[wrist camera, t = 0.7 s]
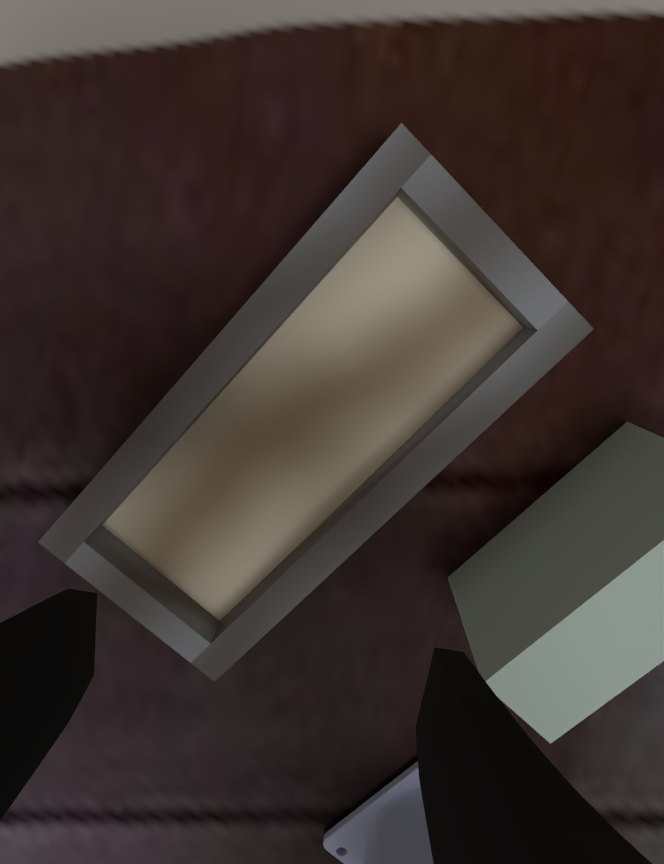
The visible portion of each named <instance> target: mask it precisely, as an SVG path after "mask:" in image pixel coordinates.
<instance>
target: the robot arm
mask: <svg viewBox="0 0 664 864" xmlns="http://www.w3.org/2000/svg"><path fill="white" fill-rule="evenodd" d="M96 607H97V593H92V592H85V591H79V590H73V589H67V590H65V591H63V592H61V593H58V594H56V595H54V596H52V597H50V598H48V599H46V600H44V601H42V602H40V603H38V604H36V605H34V606H33V607H31V608H29V609H27V610H25V611H23V612H21V613H19V614H17V615H15V616H13V617H11V618H9V619H7V620H5V621H4V622H2V623H0V820H1V819H2V817H3V816H4V814H5V813H6V812H7V810H8V809H9V807H10V806H11V804H12V803H13V802H14V800H15V799H16V797H17V796H18V794H19V793H20V792H21V790H22V789H23V787H24V786H25V784H26V783H27V782H28V780H29V779H30V777H31V776H32V774H33V773H34V772H35V770H36V769H37V767H38V766H39V764H40V763H41V762H42V760H43V759H44V757H45V756H46V754H47V753H48V751H49V750H50V749H51V747H52V746H53V744H54V743H55V741H56V740H57V738H58V737H59V735H60V734H61V733H62V731H63V730H64V728H65V727H66V725H67V724H68V722H69V720H70V718H71V717H72V715H73V713H74V711H75V709H76V708H77V706H78V704H79V702H80V700H81V698H82V697H83V695H84V693H85V691H86V689H87V687H88V685H89V683H90V681H91V679H92V677H93V675H94V656H95V632H96ZM416 738H417V756H418V761H417V762H416V763H415V764H413V765H412V766H411V767H409V768H408V769H407V770H406V771H404V772H403V773H402V774H400V775H399V776H398V777H397V778H395V779H394V780H393V781H391V782H390V783H389V784H388V785H386V786H385V787H384V788H382V789H381V790H380V791H379V792H377V793H376V794H375V795H373V796H372V797H371V798H370V799H368V800H367V801H366V802H364V803H363V804H362V805H361V806H359V807H358V808H357V809H355V810H354V811H353V812H352V813H350V814H349V815H348V816H346V817H345V818H344V819H343V820H341V821H340V822H339V823H337V824H336V825H335V826H334V827H332V828H331V829H330V830H328V831H327V832H326V833H325V834H324V838H323V846H324V848H325V849H326V850H327V851H328V852H329V853H331V854H332V855H333V856H335V857H336V858H337V859H338V860H340V861H341V862H342V863H344V864H652V863H651V862H650V861H648V860H647V859H646V858H645V857H644V856H643V855H642V854H641V853H639V852H638V851H637V850H636V849H635V848H634V847H633V846H632V845H631V844H630V843H629V842H628V841H627V840H625V839H624V838H623V837H622V836H621V835H620V834H619V833H618V832H617V831H616V830H615V829H614V828H613V827H612V826H611V825H610V824H609V823H608V822H607V821H606V820H605V819H604V818H603V817H602V816H601V815H600V814H599V813H598V812H597V811H596V810H595V809H594V808H593V807H592V806H591V805H590V804H589V803H588V802H587V801H586V800H585V799H584V798H583V797H582V796H581V795H580V794H579V793H578V792H577V791H576V790H575V789H574V788H573V787H572V786H571V784H570V783H569V782H568V781H567V780H566V779H565V778H564V777H563V776H562V775H561V773H560V772H559V771H558V770H557V769H556V768H555V767H554V765H553V764H552V763H551V762H550V761H549V760H548V759H547V758H546V756H545V755H544V754H543V753H542V752H541V751H540V750H539V748H538V747H537V746H536V745H535V744H534V742H533V741H532V740H531V739H530V738H529V736H528V735H527V734H526V733H525V732H524V730H523V729H522V728H521V727H520V725H519V724H518V723H517V722H516V720H515V719H514V718H513V717H512V715H511V714H510V713H509V712H508V710H507V709H506V708H505V706H504V705H503V704H502V702H501V701H500V700H499V699H498V697H497V696H496V695H495V693H494V692H493V691H492V689H491V688H490V687H489V685H488V684H487V683H486V681H485V680H484V679H483V677H482V676H481V675H480V673H479V672H478V671H477V669H476V668H475V667H474V665H473V664H472V663H471V661H470V660H469V659H468V657H467V656H466V655H465V653H464V652H459V651H453V650H447V649H441V648H435V649H434V653H433V657H432V661H431V665H430V670H429V674H428V678H427V682H426V687H425V691H424V695H423V699H422V703H421V708H420V712H419V716H418V720H417V724H416Z"/></svg>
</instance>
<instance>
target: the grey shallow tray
mask: <svg viewBox="0 0 664 864" xmlns="http://www.w3.org/2000/svg"><path fill="white" fill-rule="evenodd" d="M592 330H593V328H592V327H591V326H590V325H589V323H588V322H587V321H586V320H585V319H584V318H583V317H582V316H581V315H580V314H579V313H578V312H577V311H576V309H575V308H574V307H573V306H572V305H571V304H570V303H569V302H568V301H567V300H566V299H565V298H564V297H563V296H562V294H561V293H560V292H559V291H558V290H557V289H556V288H555V287H554V286H553V285H552V284H551V283H550V282H549V281H548V279H547V278H546V277H545V276H544V275H543V274H542V273H541V272H540V271H539V270H538V269H537V268H536V267H535V266H534V264H533V263H532V262H531V261H530V260H529V259H528V258H527V257H526V256H525V255H524V254H523V253H522V252H521V250H520V249H519V248H518V247H517V246H516V245H515V244H514V243H513V242H512V241H511V240H510V239H509V238H508V237H507V235H506V234H505V233H504V232H503V231H502V230H501V229H500V228H499V227H498V226H497V225H496V224H495V223H494V222H493V220H492V219H491V218H490V217H489V216H488V215H487V214H486V213H485V212H484V211H483V210H482V209H481V208H480V207H479V205H478V204H477V203H476V202H475V201H474V200H473V199H472V198H471V197H470V196H469V195H468V194H467V193H466V191H465V190H464V189H463V188H462V187H461V186H460V185H459V184H458V183H457V182H456V181H455V180H454V179H453V178H452V176H451V175H450V174H449V173H448V172H447V171H446V170H445V169H444V168H443V167H442V166H441V165H440V164H439V163H438V161H437V160H436V159H435V158H434V157H433V156H432V155H431V154H430V153H429V152H428V151H427V150H426V149H425V147H424V146H423V145H422V144H421V143H420V142H419V141H418V140H417V139H416V138H415V137H414V136H413V135H412V134H411V132H410V131H409V130H408V129H407V128H406V127H405V126H404V125H403V124H402V123H401V124H400V125H399V127H398V128H397V129H396V130H395V131H394V132H393V133H392V135H391V136H390V137H389V138H388V139H387V140H386V142H385V143H384V144H383V145H382V146H381V147H380V148H379V150H378V151H377V152H376V153H375V154H374V155H373V157H372V158H371V159H370V160H369V161H368V162H367V163H366V165H365V166H364V167H363V168H362V169H361V170H360V171H359V173H358V174H357V175H356V176H355V177H354V178H353V180H352V181H351V182H350V183H349V184H348V185H347V186H346V188H345V189H344V190H343V191H342V192H341V193H340V195H339V196H338V197H337V198H336V199H335V200H334V201H333V203H332V204H331V205H330V206H329V207H328V208H327V210H326V211H325V212H324V213H323V214H322V215H321V216H320V218H319V219H318V220H317V221H316V222H315V223H314V225H313V226H312V227H311V228H310V229H309V230H308V231H307V233H306V234H305V235H304V236H303V237H302V238H301V240H300V241H299V242H298V243H297V244H296V245H295V246H294V248H293V249H292V250H291V251H290V252H289V253H288V255H287V256H286V257H285V258H284V259H283V260H282V261H281V263H280V264H279V265H278V266H277V267H276V268H275V270H274V271H273V272H272V273H271V274H270V275H269V276H268V278H267V279H266V280H265V281H264V282H263V283H262V285H261V286H260V287H259V288H258V289H257V290H256V291H255V293H254V294H253V295H252V296H251V297H250V298H249V299H248V301H247V302H246V303H245V304H244V305H243V306H242V308H241V309H240V310H239V311H238V312H237V313H236V314H235V316H234V317H233V318H232V319H231V320H230V321H229V323H228V324H227V325H226V326H225V327H224V328H223V329H222V331H221V332H220V333H219V334H218V335H217V336H216V338H215V339H214V340H213V341H212V342H211V343H210V344H209V346H208V347H207V348H206V349H205V350H204V351H203V353H202V354H201V355H200V356H199V357H198V358H197V359H196V361H195V362H194V363H193V364H192V365H191V366H190V368H189V369H188V370H187V371H186V372H185V373H184V374H183V376H182V377H181V378H180V379H179V380H178V381H177V383H176V384H175V385H174V386H173V387H172V388H171V389H170V391H169V392H168V393H167V394H166V395H165V396H164V398H163V399H162V400H161V401H160V402H159V403H158V404H157V406H156V407H155V408H154V409H153V410H152V411H151V413H150V414H149V415H148V416H147V417H146V418H145V419H144V421H143V422H142V423H141V424H140V425H139V426H138V428H137V429H136V430H135V431H134V432H133V433H132V434H131V436H130V437H129V438H128V439H127V440H126V441H125V442H124V444H123V445H122V446H121V447H120V448H119V449H118V451H117V452H116V453H115V454H114V455H113V456H112V457H111V459H110V460H109V461H108V462H107V463H106V464H105V466H104V467H103V468H102V469H101V470H100V471H99V472H98V474H97V475H96V476H95V477H94V478H93V479H92V481H91V482H90V483H89V484H88V485H87V486H86V487H85V489H84V490H83V491H82V492H81V493H80V494H79V496H78V497H77V498H76V499H75V500H74V501H73V502H72V504H71V505H70V506H69V507H68V508H67V509H66V511H65V512H64V513H63V514H62V515H61V516H60V517H59V519H58V520H57V521H56V522H55V523H54V524H53V526H52V527H51V528H50V529H49V530H48V531H47V532H46V534H45V535H44V536H43V537H42V538H41V539H40V541H39V542H38V543H39V544H41V545H42V546H43V547H45V548H46V549H47V550H48V551H50V552H51V553H52V554H53V555H55V556H56V557H57V558H58V559H60V560H61V561H62V562H64V563H65V564H66V565H67V566H69V567H70V568H71V569H72V570H74V571H75V572H76V573H77V574H79V575H80V576H81V577H83V578H84V579H85V580H86V581H88V582H89V583H90V584H91V585H93V586H94V587H95V588H96V589H98V590H99V591H100V592H102V593H103V594H104V595H105V596H107V597H108V598H109V599H110V600H112V601H113V602H114V603H115V604H117V605H118V606H119V607H121V608H122V609H123V610H124V611H126V612H127V613H128V614H129V615H131V616H132V617H133V618H134V619H136V620H137V621H138V622H140V623H141V624H142V625H143V626H145V627H146V628H147V629H148V630H150V631H151V632H152V633H153V634H155V635H156V636H157V637H159V638H160V639H161V640H162V641H164V642H165V643H166V644H167V645H169V646H170V647H171V648H172V649H174V650H175V651H176V652H178V653H179V654H180V655H181V656H183V657H184V658H185V659H186V660H188V661H189V662H190V663H191V664H193V665H194V666H195V667H197V668H198V669H199V670H200V671H202V672H203V673H204V674H205V675H207V676H208V677H209V678H210V679H212V680H213V681H214V682H215V681H216V680H217V679H218V678H219V677H220V676H221V675H222V674H224V673H225V672H226V671H227V670H228V669H229V668H230V667H231V666H232V665H233V664H234V663H235V662H236V661H238V660H239V659H240V658H241V657H242V656H243V655H244V654H245V653H246V652H247V651H248V650H249V649H250V648H251V647H253V646H254V645H255V644H256V643H257V642H258V641H259V640H260V639H261V638H262V637H263V636H264V635H265V634H267V633H268V632H269V631H270V630H271V629H272V628H273V627H274V626H275V625H276V624H277V623H278V622H279V621H280V620H282V619H283V618H284V617H285V616H286V615H287V614H288V613H289V612H290V611H291V610H292V609H293V608H294V607H296V606H297V605H298V604H299V603H300V602H301V601H302V600H303V599H304V598H305V597H306V596H307V595H308V594H309V593H311V592H312V591H313V590H314V589H315V588H316V587H317V586H318V585H319V584H320V583H321V582H322V581H323V580H325V579H326V578H327V577H328V576H329V575H330V574H331V573H332V572H333V571H334V570H335V569H336V568H337V567H338V566H340V565H341V564H342V563H343V562H344V561H345V560H346V559H347V558H348V557H349V556H350V555H351V554H352V553H354V552H355V551H356V550H357V549H358V548H359V547H360V546H361V545H362V544H363V543H364V542H365V541H366V540H367V539H369V538H370V537H371V536H372V535H373V534H374V533H375V532H376V531H377V530H378V529H379V528H380V527H381V526H383V525H384V524H385V523H386V522H387V521H388V520H389V519H390V518H391V517H392V516H393V515H394V514H395V513H396V512H398V511H399V510H400V509H401V508H402V507H403V506H404V505H405V504H406V503H407V502H408V501H409V500H410V499H412V498H413V497H414V496H415V495H416V494H417V493H418V492H419V491H420V490H421V489H422V488H423V487H424V486H425V485H427V484H428V483H429V482H430V481H431V480H432V479H433V478H434V477H435V476H436V475H437V474H438V473H439V472H440V471H442V470H443V469H444V468H445V467H446V466H447V465H448V464H449V463H450V462H451V461H452V460H453V459H454V458H456V457H457V456H458V455H459V454H460V453H461V452H462V451H463V450H464V449H465V448H466V447H467V446H468V445H469V444H471V443H472V442H473V441H474V440H475V439H476V438H477V437H478V436H479V435H480V434H481V433H482V432H483V431H485V430H486V429H487V428H488V427H489V426H490V425H491V424H492V423H493V422H494V421H495V420H496V419H497V418H498V417H500V416H501V415H502V414H503V413H504V412H505V411H506V410H507V409H508V408H509V407H510V406H511V405H512V404H514V403H515V402H516V401H517V400H518V399H519V398H520V397H521V396H522V395H523V394H524V393H525V392H526V391H527V390H529V389H530V388H531V387H532V386H533V385H534V384H535V383H536V382H537V381H538V380H539V379H540V378H541V377H543V376H544V375H545V374H546V373H547V372H548V371H549V370H550V369H551V368H552V367H553V366H554V365H555V364H556V363H558V362H559V361H560V360H561V359H562V358H563V357H564V356H565V355H566V354H567V353H568V352H569V351H570V350H572V349H573V348H574V347H575V346H576V345H577V344H578V343H579V342H580V341H581V340H582V339H583V338H584V337H585V336H587V335H588V334H589V333H590V332H591V331H592Z"/></svg>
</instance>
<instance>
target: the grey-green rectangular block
mask: <svg viewBox="0 0 664 864" xmlns="http://www.w3.org/2000/svg"><path fill="white" fill-rule="evenodd" d="M448 581H449V584H450V587H451V590H452V593H453V596H454V599H455V602H456V605H457V608H458V611H459V614H460V617H461V620H462V623H463V626H464V629H465V632H466V635H467V638H468V641H469V644H470V647H471V651H472V654H473V657H474V660H475V663H476V666H477V669H478V672H479V673H480V675H481V676H482V677H483V679H484V680H485V681H486V683H487V684H488V685H489V687H490V688H491V689H492V691H493V692H494V693H495V695H496V696H497V697H498V698H499V699H500V700H502V701H503V702H504V703H505V704H506V705H507V706H508V707H510V708H511V709H512V710H513V711H514V712H515V713H516V714H518V715H519V716H520V717H521V718H522V719H523V720H524V721H525V722H527V723H528V724H529V725H530V726H531V727H532V728H533V729H535V730H536V731H537V732H538V733H539V734H540V735H541V736H543V737H544V738H545V739H546V740H547V741H548V742H549V743H552V742H553V741H555V740H556V739H558V738H559V737H560V736H562V735H563V734H564V733H566V732H567V731H568V730H570V729H571V728H573V727H574V726H575V725H577V724H578V723H579V722H581V721H582V720H584V719H585V718H586V717H588V716H589V715H590V714H592V713H593V712H594V711H596V710H597V709H599V708H600V707H601V706H603V705H604V704H605V703H607V702H608V701H609V700H611V699H612V698H614V697H615V696H616V695H618V694H619V693H620V692H622V691H623V690H624V689H626V688H627V687H629V686H630V685H631V684H633V683H634V682H635V681H637V680H638V679H640V678H641V677H642V676H644V675H645V674H646V673H648V672H649V671H650V670H652V669H653V668H655V667H656V666H657V665H659V664H660V663H661V662H663V661H664V438H663V437H660V436H658V435H656V434H654V433H652V432H650V431H647V430H645V429H643V428H641V427H639V426H636V425H634V424H632V423H630V422H628V421H627V422H626V423H625V424H624V425H623V426H622V427H620V428H619V429H618V430H617V431H616V432H615V433H614V434H612V435H611V436H610V437H609V438H608V439H607V440H605V441H604V442H603V443H602V444H601V445H600V446H599V447H597V448H596V449H595V450H594V451H593V452H592V453H590V454H589V455H588V456H587V457H586V458H585V459H584V460H582V461H581V462H580V463H579V464H578V465H577V466H575V467H574V468H573V469H572V470H571V471H570V472H569V473H567V474H566V475H565V476H564V477H563V478H562V479H560V480H559V481H558V482H557V483H556V484H555V485H554V486H552V487H551V488H550V489H549V490H548V491H547V492H546V493H544V494H543V495H542V496H541V497H540V498H539V499H537V500H536V501H535V502H534V503H533V504H532V505H531V506H529V507H528V508H527V509H526V510H525V511H524V512H522V513H521V514H520V515H519V516H518V517H517V518H516V519H514V520H513V521H512V522H511V523H510V524H509V525H507V526H506V527H505V528H504V529H503V530H502V531H501V532H499V533H498V534H497V535H496V536H495V537H494V538H493V539H491V540H490V541H489V542H488V543H487V544H486V545H484V546H483V547H482V548H481V549H480V550H479V551H478V552H476V553H475V554H474V555H473V556H472V557H471V558H469V559H468V560H467V561H466V562H465V563H464V564H463V565H461V566H460V567H459V568H458V569H457V570H456V571H454V572H453V573H452V574H451V575H450V576H449V577H448Z"/></svg>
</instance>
